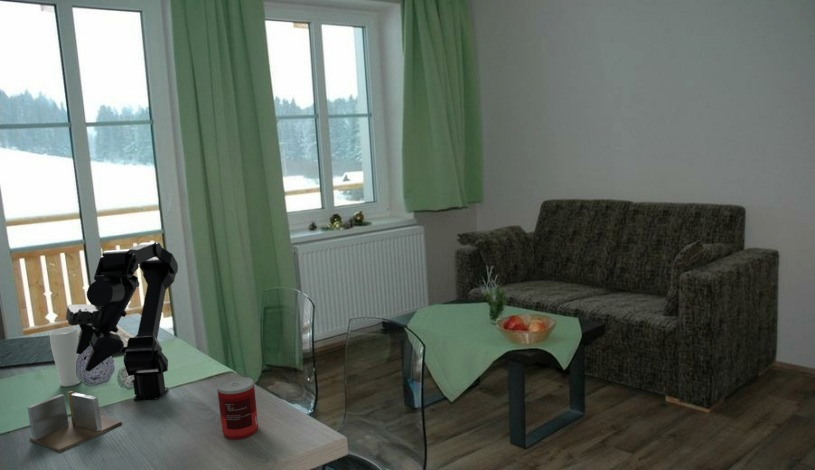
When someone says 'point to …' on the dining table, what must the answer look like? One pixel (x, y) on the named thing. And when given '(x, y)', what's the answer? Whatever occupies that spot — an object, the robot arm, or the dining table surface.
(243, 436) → the canned food
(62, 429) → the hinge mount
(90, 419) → the swinging leaf
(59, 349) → the white tapered cylinder
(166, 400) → the dining table surface
